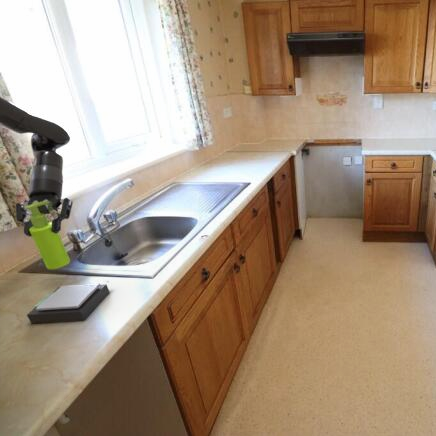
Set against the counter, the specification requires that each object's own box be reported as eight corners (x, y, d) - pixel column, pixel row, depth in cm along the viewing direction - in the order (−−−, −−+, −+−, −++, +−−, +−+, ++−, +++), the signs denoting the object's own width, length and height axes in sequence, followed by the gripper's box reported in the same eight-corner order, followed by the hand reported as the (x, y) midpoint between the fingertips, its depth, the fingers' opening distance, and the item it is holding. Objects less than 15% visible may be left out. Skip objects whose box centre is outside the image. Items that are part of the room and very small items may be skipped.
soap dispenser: (77, 259, 102) (53, 201, 94) (53, 271, 97) (25, 210, 88) (66, 255, 105) (42, 198, 96) (42, 266, 99) (14, 207, 90)
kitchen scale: (29, 323, 86) (23, 311, 84) (61, 295, 97) (56, 284, 95) (84, 320, 86) (78, 308, 85) (109, 292, 97) (105, 281, 96)
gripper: (10, 180, 95) (3, 233, 89) (66, 174, 98) (62, 226, 92) (28, 191, 101) (22, 241, 96) (79, 185, 105) (77, 234, 99)
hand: (42, 233), depth 94 cm, fingers closed on soap dispenser, 6 cm apart
